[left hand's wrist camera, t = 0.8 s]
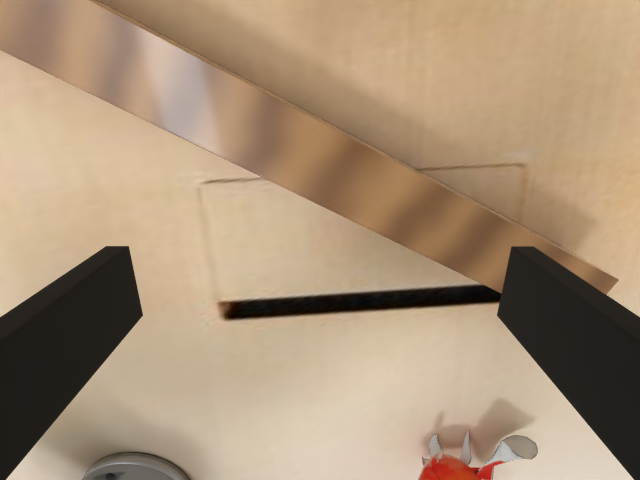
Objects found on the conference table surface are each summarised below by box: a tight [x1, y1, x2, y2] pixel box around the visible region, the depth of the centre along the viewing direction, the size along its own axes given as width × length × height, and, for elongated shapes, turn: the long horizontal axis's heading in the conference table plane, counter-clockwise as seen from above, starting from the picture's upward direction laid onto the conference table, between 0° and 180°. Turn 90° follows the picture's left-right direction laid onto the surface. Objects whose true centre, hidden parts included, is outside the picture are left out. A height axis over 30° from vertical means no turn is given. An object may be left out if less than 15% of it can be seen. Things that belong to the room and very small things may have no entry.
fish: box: [418, 431, 538, 480], centre depth 43 cm, size 11×16×10 cm
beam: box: [0, 0, 618, 294], centre depth 29 cm, size 75×6×8 cm, turn 63°
